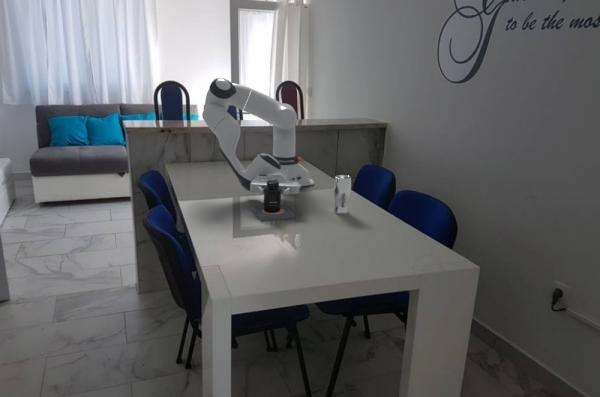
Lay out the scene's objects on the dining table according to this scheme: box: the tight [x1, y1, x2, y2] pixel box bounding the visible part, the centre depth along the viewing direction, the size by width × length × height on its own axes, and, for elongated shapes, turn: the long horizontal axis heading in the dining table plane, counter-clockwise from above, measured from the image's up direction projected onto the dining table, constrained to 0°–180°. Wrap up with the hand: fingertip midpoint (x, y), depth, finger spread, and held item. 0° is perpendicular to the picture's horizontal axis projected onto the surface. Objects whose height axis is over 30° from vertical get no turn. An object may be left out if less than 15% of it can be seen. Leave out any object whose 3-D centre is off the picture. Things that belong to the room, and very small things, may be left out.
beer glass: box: [333, 174, 352, 215], centre depth 193 cm, size 7×7×15 cm
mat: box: [251, 204, 296, 222], centre depth 189 cm, size 14×13×2 cm
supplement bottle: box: [263, 180, 282, 213], centre depth 187 cm, size 7×7×12 cm
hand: (273, 192), depth 186 cm, fingers open, 8 cm apart
